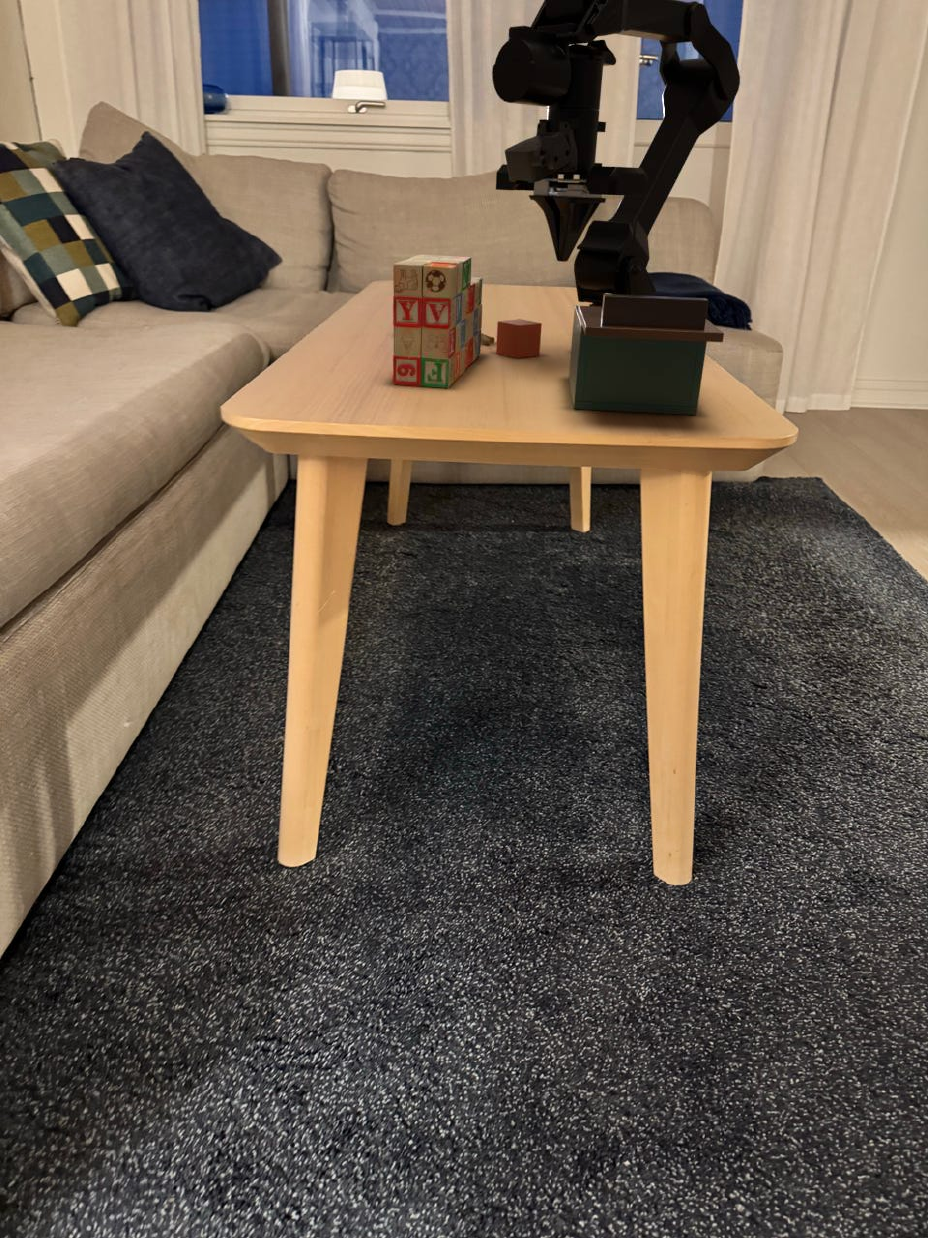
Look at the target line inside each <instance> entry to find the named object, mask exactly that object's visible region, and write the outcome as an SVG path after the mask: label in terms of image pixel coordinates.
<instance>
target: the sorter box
mask: <svg viewBox="0 0 928 1238" xmlns="http://www.w3.org/2000/svg"><path fill="white" fill-rule="evenodd" d="M578 306H579V305H574V309H573V323H572V335H571V347H570V358H569V371H568V372H569V373H568V383H569V389H570V395H571V400H572V407H573V410H582V411H584V410H585V411H586V410H587V411H604V412H622V413H623V412H625V413H643V414H645V413H646V414H663V415H685V416H696V415H697V412H698V404H699V399H700V392H701V385H702V379H703V370H704V366H705V365H704V364H705V358H706V351H707V343H708V342H704V341H683V340H661V339H639V338H617V337H596V336H585V334H584V331H583V328H582V325H581V322H580V319H579V316H578Z"/></svg>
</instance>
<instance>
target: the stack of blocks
mask: <svg viewBox="0 0 928 1238" xmlns="http://www.w3.org/2000/svg"><path fill="white" fill-rule="evenodd" d="M392 267H393V269H392V270H393V271H392V273H393V283H392V285H393V288H392V289H393V297H392V326H393V355H392V384H394V385H399V386H414V387H427V388H439V389H440V388H443V389H449V388H450V387H451V386H452V385H453V384H454V383H455V382H456V381H457V380H459V378H460V377H461V376H463V374H464V373H465V371H466V370H467V369H468V367H469V366H470V365H472V363H473V362H474V361H476V359H477V358H479V356H480V355H481V353H482V352H481V348H482V342H481V333H482V328H483V327H482V326H483V304H482V302H483V277H475V276H472V257H471V256H456V255H455V256H454V255H435V254H417V255H415V256H412V257H409V258H408V259H404V260H402V261H398V262H395V263H394V264H393V266H392Z"/></svg>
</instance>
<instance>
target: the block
mask: <svg viewBox="0 0 928 1238" xmlns="http://www.w3.org/2000/svg"><path fill="white" fill-rule="evenodd" d="M496 324H497V325H496V343H495V344H496V347H495V349H496V350H495V354H497V355H502V356H505V357H510V358H515V359H523V358H531V357H539V356H540V355H541V353H540V352H541V339H542V325H543V324H542V322H537V321H531V320H527V319H521V318H519V319H517V318H516V319H509V320H508V319H507V320H506V319H505V320H497V323H496Z"/></svg>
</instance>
